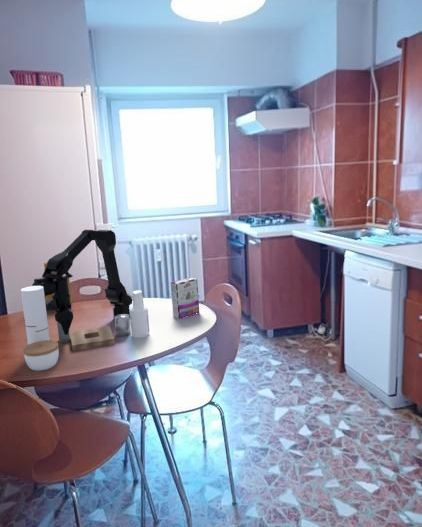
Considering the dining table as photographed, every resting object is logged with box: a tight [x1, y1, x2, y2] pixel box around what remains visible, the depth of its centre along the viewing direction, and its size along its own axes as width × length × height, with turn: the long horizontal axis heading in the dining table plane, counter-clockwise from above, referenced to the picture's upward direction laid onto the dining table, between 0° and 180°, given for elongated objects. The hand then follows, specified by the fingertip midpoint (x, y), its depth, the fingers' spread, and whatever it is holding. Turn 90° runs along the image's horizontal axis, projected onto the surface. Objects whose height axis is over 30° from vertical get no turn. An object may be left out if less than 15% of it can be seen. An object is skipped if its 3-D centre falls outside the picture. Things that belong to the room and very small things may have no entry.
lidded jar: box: [22, 339, 60, 372], centre depth 139 cm, size 11×11×9 cm
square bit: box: [56, 321, 71, 344], centre depth 161 cm, size 4×4×8 cm
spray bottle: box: [129, 290, 150, 339], centre depth 162 cm, size 7×7×18 cm
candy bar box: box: [170, 277, 200, 320], centre depth 184 cm, size 11×5×16 cm, turn 129°
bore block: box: [69, 325, 116, 352], centre depth 160 cm, size 15×15×3 cm
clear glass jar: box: [114, 314, 132, 338], centre depth 165 cm, size 6×6×8 cm
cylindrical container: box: [20, 285, 51, 345], centre depth 146 cm, size 7×7×25 cm
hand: (65, 330), depth 162 cm, fingers open, 9 cm apart
